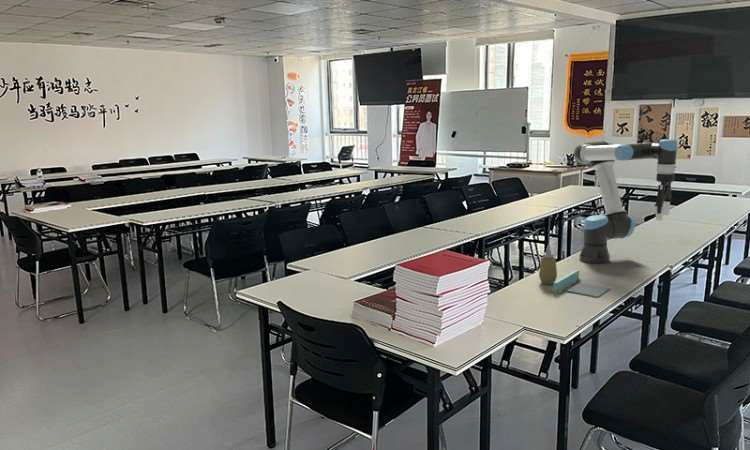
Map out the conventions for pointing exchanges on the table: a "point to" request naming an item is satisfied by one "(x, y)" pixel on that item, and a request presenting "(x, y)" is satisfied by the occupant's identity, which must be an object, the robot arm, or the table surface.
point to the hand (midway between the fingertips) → (662, 217)
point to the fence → (565, 282)
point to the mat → (588, 290)
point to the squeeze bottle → (548, 268)
